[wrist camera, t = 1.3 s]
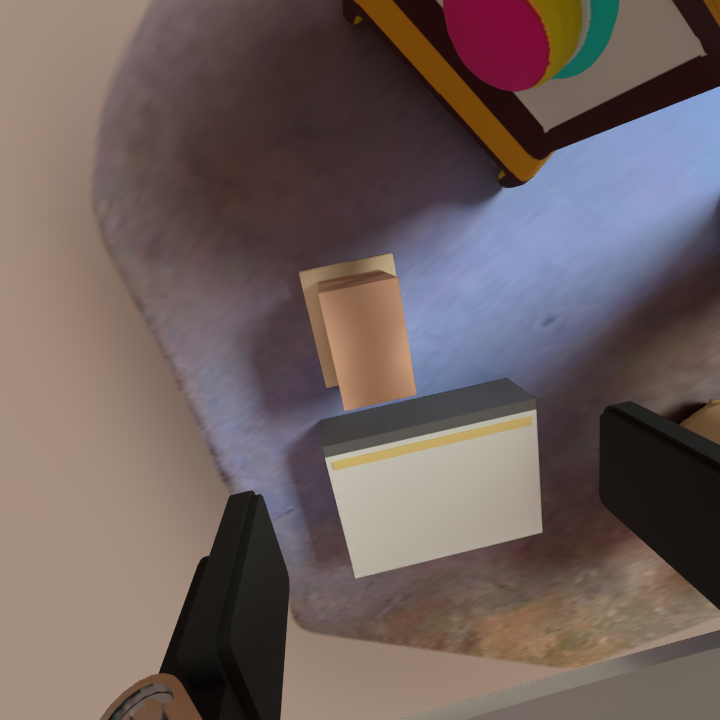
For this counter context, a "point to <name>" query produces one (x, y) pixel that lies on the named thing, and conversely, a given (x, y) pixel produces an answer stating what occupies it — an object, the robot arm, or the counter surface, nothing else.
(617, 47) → the decorative lantern
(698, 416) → the container
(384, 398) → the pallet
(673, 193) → the counter surface
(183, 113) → the counter surface
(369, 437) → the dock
